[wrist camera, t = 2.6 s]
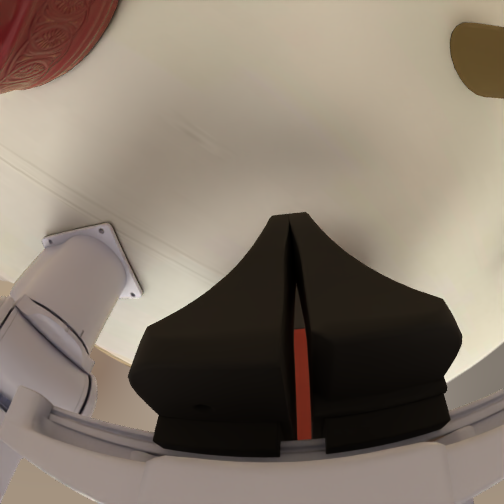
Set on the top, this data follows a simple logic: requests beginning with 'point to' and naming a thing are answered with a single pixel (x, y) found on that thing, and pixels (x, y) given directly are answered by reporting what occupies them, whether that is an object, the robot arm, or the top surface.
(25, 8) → the kitchen canister
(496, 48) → the olive brown oblong piece
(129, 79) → the top surface
